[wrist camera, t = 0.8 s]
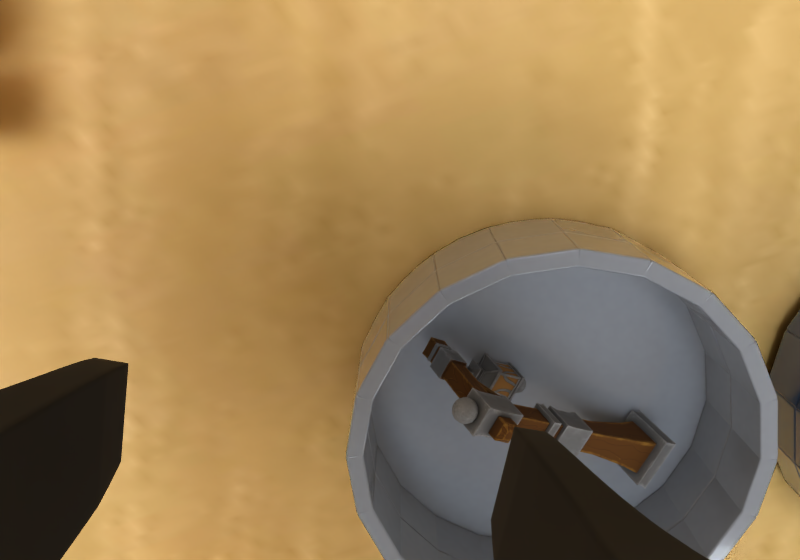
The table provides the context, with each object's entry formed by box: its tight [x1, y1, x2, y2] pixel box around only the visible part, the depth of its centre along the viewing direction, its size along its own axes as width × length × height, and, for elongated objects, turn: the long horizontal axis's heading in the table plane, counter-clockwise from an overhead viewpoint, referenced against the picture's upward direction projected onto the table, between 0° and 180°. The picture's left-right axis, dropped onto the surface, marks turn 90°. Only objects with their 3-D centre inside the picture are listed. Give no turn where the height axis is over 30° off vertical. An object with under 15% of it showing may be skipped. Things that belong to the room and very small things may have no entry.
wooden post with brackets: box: [422, 337, 676, 488], centre depth 22 cm, size 2×8×4 cm, turn 63°
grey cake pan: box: [346, 218, 778, 560], centre depth 22 cm, size 12×12×4 cm
